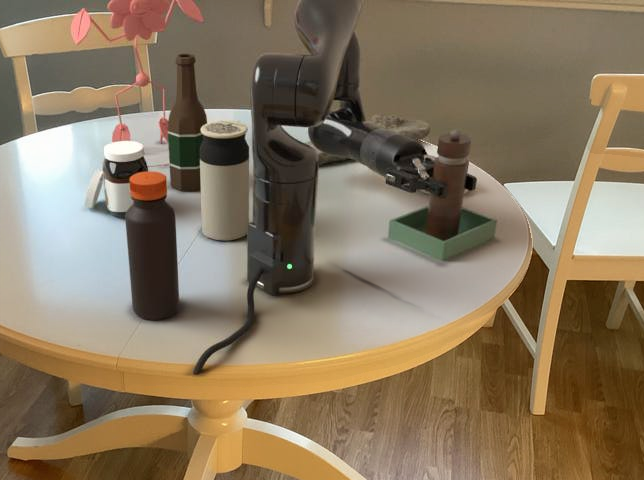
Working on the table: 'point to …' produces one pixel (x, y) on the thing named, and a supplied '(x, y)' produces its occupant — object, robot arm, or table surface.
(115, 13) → the figurine
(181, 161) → the beer bottle
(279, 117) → the robot arm
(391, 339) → the table surface
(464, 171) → the pepper mill
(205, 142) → the travel mug
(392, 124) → the elongated rock
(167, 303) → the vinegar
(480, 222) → the green shallow open box
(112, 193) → the spread jar
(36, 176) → the table surface
